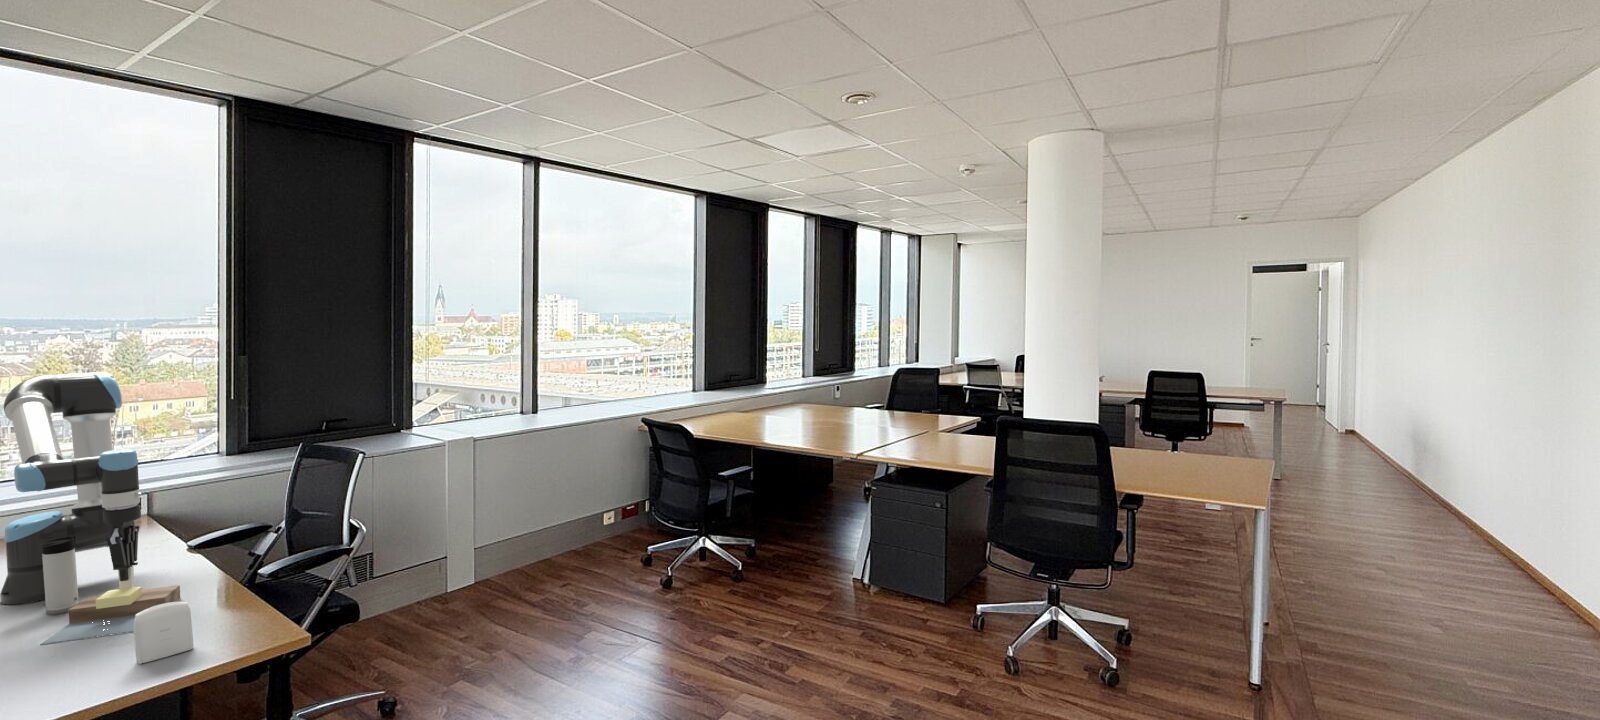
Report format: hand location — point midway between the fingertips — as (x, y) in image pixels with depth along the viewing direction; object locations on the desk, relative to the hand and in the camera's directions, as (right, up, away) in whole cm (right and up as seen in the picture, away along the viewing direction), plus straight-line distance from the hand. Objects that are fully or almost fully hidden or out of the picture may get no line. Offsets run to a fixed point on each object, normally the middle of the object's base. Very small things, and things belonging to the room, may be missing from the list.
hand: (127, 590), depth 196 cm
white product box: (+34, -7, -27) cm, 44 cm away
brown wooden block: (0, -6, 0) cm, 6 cm away
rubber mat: (+5, -6, -11) cm, 13 cm away
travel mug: (-19, -6, +1) cm, 20 cm away
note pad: (+2, -2, -4) cm, 4 cm away
